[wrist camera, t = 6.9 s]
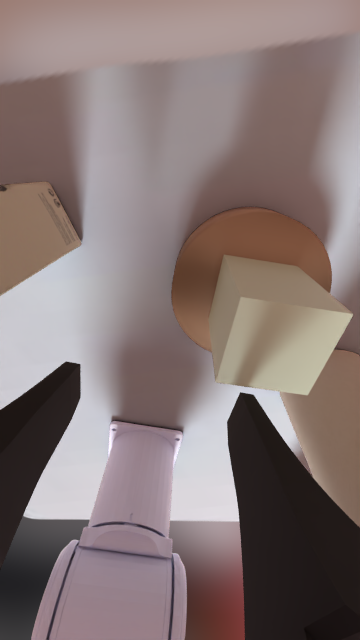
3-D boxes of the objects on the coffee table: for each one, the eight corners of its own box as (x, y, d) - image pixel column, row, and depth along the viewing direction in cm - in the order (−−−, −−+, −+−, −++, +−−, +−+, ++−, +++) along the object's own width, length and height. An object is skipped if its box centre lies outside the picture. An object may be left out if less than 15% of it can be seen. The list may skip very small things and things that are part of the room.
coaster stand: (280, 344, 21) (292, 367, 19) (165, 324, 21) (161, 345, 18) (337, 222, 16) (364, 231, 14) (188, 192, 16) (187, 195, 13)
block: (272, 329, 17) (307, 395, 12) (208, 319, 17) (215, 382, 12) (297, 266, 15) (354, 314, 10) (223, 254, 15) (240, 297, 10)
